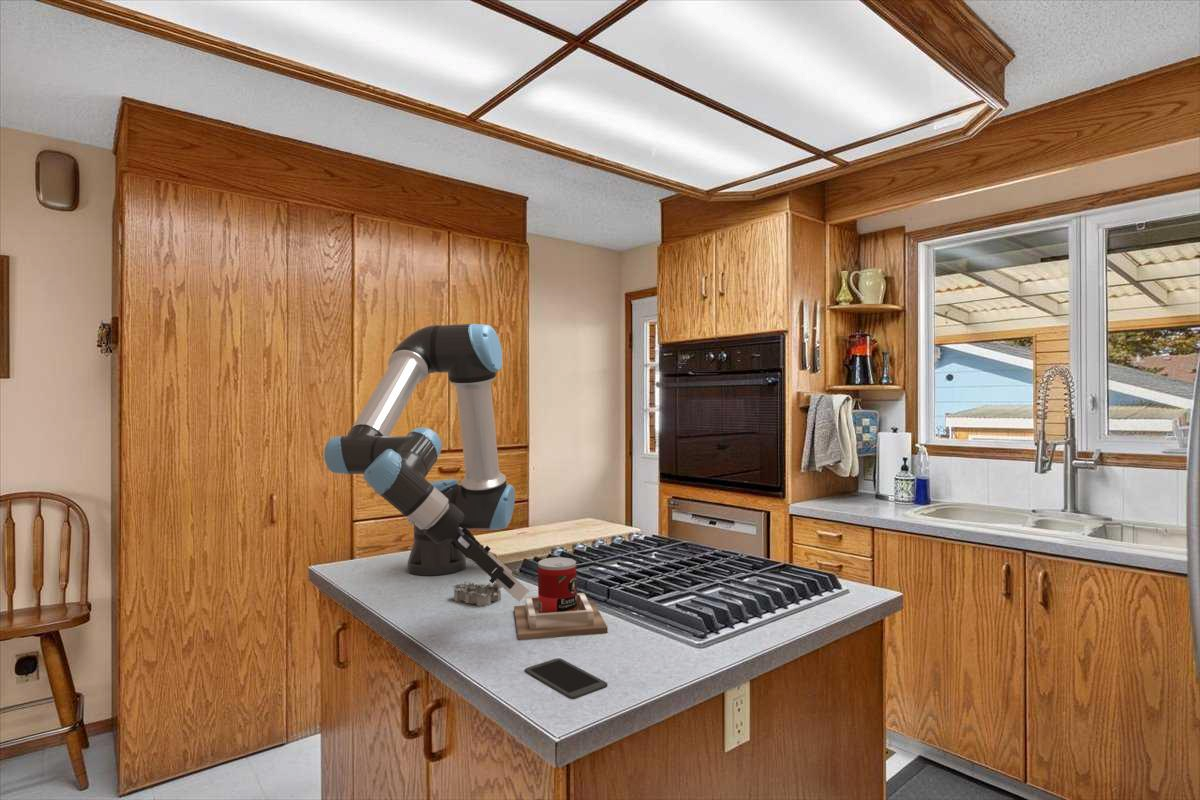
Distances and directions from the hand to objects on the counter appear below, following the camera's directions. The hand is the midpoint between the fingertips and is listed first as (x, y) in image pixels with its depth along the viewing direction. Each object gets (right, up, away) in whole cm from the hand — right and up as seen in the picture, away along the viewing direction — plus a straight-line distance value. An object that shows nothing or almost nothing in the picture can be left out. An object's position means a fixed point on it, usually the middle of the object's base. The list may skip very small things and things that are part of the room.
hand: (515, 586), depth 132 cm
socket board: (+8, -8, +3) cm, 12 cm away
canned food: (+8, -7, +3) cm, 11 cm away
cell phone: (+11, -9, -24) cm, 28 cm away
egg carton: (-11, -9, +18) cm, 23 cm away
